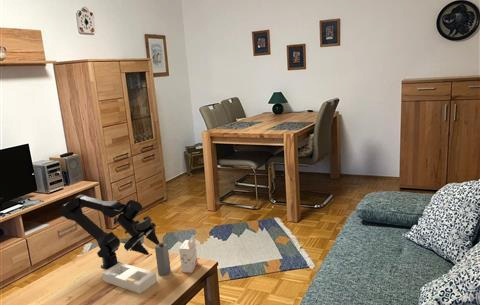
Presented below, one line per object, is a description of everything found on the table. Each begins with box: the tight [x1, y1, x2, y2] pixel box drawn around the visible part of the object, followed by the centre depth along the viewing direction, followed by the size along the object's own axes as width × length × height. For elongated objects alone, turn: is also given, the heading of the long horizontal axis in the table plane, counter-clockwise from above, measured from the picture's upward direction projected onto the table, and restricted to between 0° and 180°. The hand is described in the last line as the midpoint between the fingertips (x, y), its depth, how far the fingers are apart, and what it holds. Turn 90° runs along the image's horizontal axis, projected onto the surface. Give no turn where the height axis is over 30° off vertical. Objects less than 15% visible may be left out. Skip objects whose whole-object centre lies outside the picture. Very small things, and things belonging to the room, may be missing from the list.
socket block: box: [101, 261, 158, 294], centre depth 168 cm, size 22×10×4 cm, turn 59°
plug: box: [154, 242, 171, 276], centre depth 172 cm, size 4×4×14 cm
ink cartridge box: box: [178, 234, 198, 274], centre depth 175 cm, size 9×5×15 cm, turn 168°
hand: (154, 249), depth 173 cm, fingers open, 9 cm apart
